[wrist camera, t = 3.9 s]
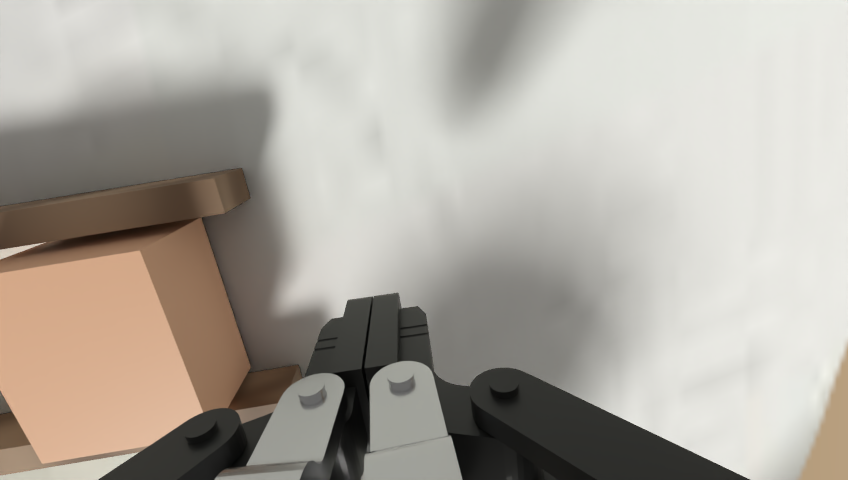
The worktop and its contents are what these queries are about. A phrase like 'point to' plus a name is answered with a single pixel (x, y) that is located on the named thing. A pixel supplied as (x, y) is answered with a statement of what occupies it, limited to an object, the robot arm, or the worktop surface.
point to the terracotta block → (116, 338)
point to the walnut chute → (118, 210)
